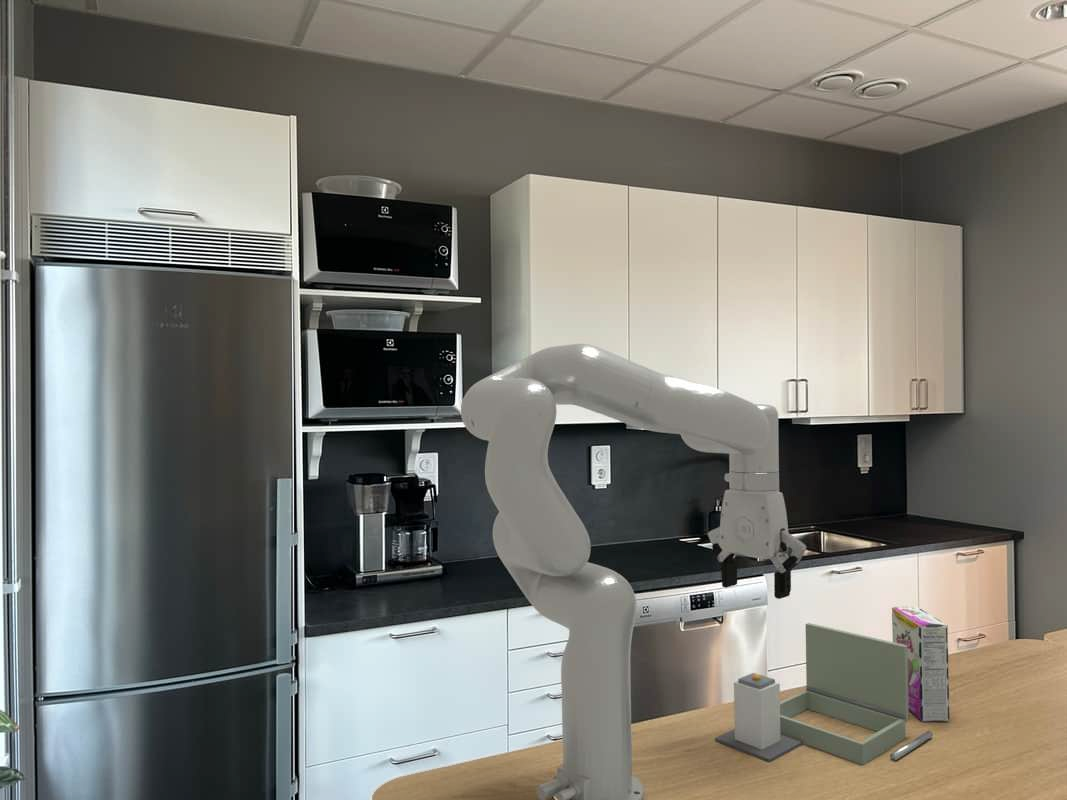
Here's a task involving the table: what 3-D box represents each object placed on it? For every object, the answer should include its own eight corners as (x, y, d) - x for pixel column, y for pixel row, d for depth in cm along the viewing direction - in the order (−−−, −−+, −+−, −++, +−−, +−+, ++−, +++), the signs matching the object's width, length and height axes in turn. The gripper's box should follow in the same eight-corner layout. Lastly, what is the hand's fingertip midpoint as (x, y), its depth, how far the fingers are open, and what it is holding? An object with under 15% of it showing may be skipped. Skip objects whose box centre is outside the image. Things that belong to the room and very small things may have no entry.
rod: (896, 761, 119) (896, 754, 119) (890, 759, 119) (890, 752, 119) (932, 738, 126) (932, 731, 126) (926, 736, 127) (926, 729, 127)
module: (761, 749, 123) (760, 683, 123) (734, 739, 126) (733, 675, 126) (780, 740, 126) (779, 675, 126) (753, 730, 130) (752, 667, 130)
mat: (769, 762, 119) (769, 759, 119) (714, 740, 127) (714, 738, 127) (802, 744, 125) (802, 741, 125) (748, 724, 133) (748, 722, 133)
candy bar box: (891, 697, 143) (890, 606, 143) (919, 697, 143) (918, 605, 143) (920, 723, 132) (919, 624, 132) (951, 722, 132) (949, 623, 132)
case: (862, 764, 118) (861, 666, 118) (761, 728, 131) (760, 640, 131) (909, 735, 127) (908, 645, 127) (810, 704, 141) (809, 622, 141)
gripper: (695, 480, 130) (696, 585, 130) (789, 489, 117) (790, 606, 117) (723, 477, 135) (724, 578, 135) (817, 485, 122) (818, 597, 122)
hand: (755, 591), depth 126 cm, fingers open, 9 cm apart
